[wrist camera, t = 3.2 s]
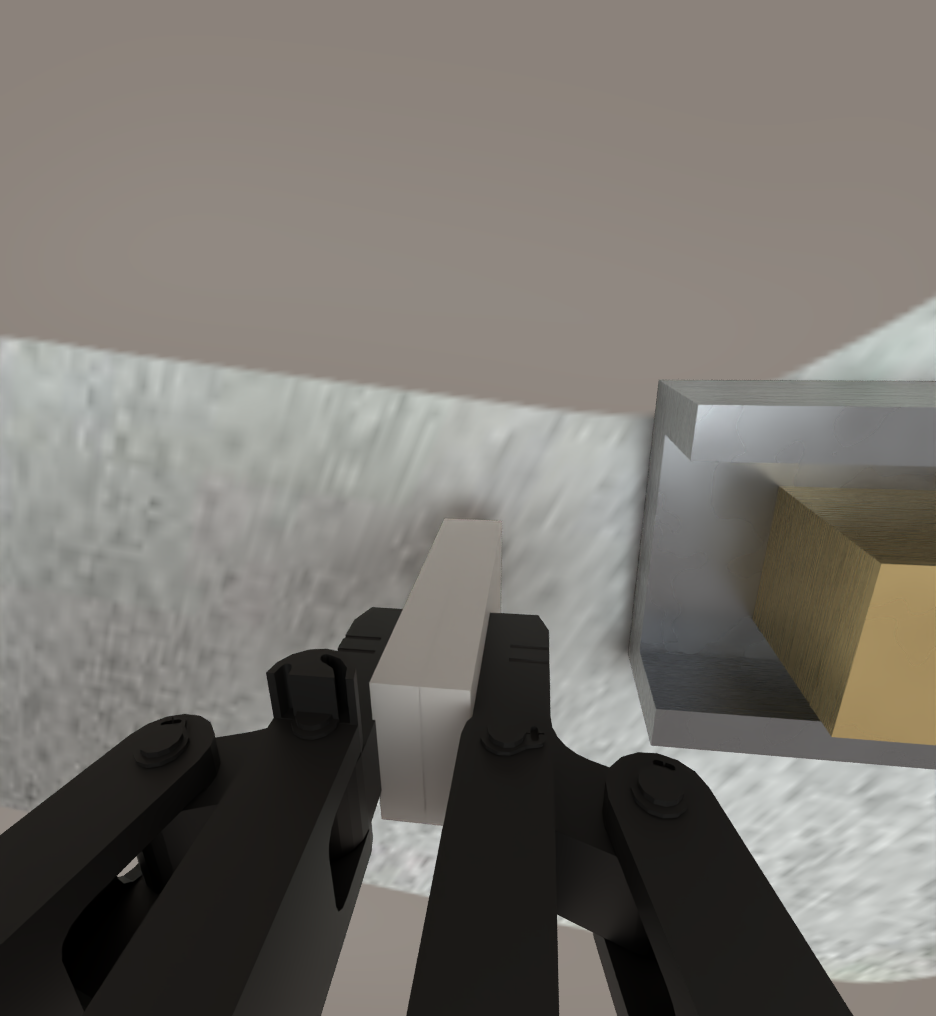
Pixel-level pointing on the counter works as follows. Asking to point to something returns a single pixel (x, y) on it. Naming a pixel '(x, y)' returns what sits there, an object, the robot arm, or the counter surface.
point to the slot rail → (754, 550)
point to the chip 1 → (855, 607)
